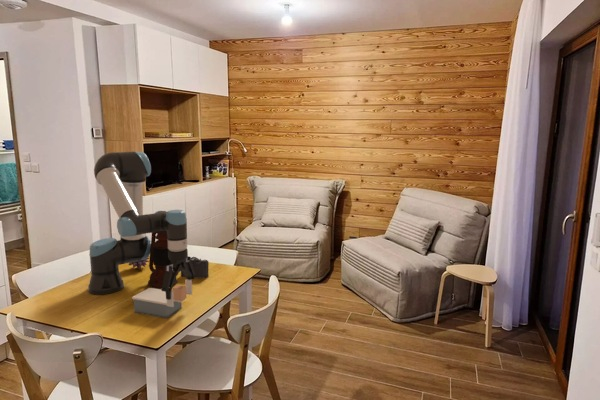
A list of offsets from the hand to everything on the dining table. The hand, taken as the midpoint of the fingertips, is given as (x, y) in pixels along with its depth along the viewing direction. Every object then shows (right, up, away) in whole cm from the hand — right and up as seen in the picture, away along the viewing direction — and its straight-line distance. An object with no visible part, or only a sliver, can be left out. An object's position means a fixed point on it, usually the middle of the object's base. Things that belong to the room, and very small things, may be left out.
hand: (180, 300), depth 165 cm
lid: (-8, -1, +3) cm, 9 cm away
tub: (-10, -5, +5) cm, 13 cm away
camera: (-5, +1, +47) cm, 47 cm away
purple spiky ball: (-39, +3, +55) cm, 67 cm away
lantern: (-18, 0, +33) cm, 38 cm away
